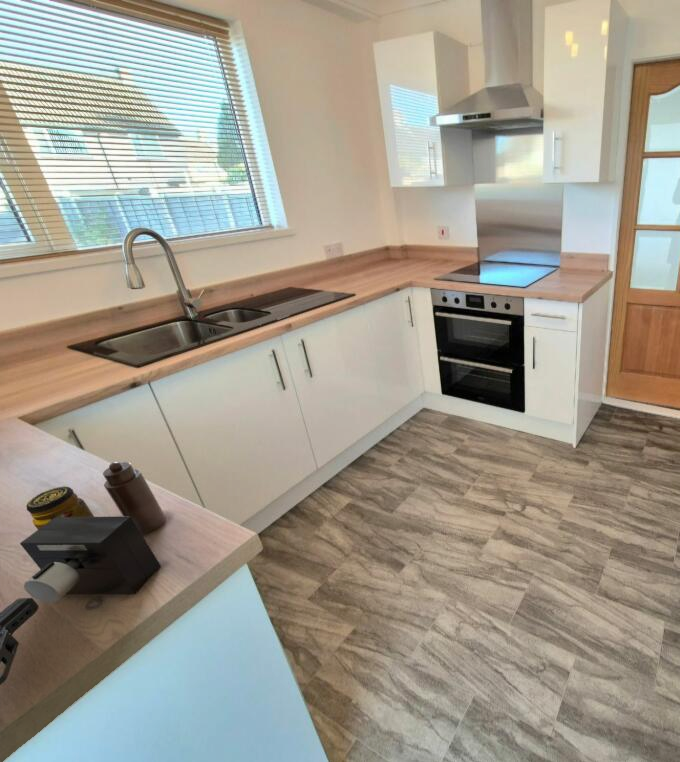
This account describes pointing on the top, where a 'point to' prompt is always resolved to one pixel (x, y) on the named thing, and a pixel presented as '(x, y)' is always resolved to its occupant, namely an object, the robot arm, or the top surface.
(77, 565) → the knob
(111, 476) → the pepper mill
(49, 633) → the top surface
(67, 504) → the condiment
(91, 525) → the panel
